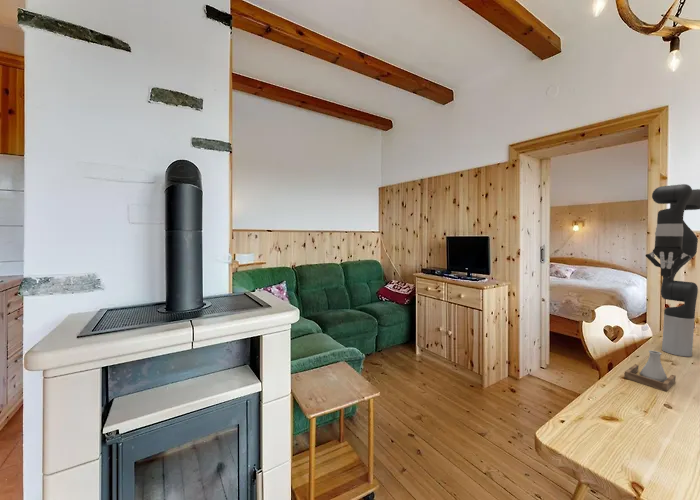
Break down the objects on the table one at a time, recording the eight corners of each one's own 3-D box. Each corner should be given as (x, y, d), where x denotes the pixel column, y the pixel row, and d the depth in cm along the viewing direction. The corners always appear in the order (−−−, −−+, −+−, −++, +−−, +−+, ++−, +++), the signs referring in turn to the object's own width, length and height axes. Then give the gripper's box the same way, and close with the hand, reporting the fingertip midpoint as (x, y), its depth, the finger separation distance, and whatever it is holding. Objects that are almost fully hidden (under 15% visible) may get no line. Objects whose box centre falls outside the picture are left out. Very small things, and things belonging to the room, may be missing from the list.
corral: (634, 370, 116) (635, 364, 116) (675, 382, 107) (675, 375, 107) (624, 378, 110) (624, 371, 110) (666, 391, 101) (666, 384, 101)
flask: (652, 372, 114) (654, 348, 114) (673, 382, 107) (675, 355, 106) (634, 373, 114) (636, 348, 113) (654, 382, 107) (656, 356, 106)
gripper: (696, 235, 113) (693, 279, 114) (648, 235, 124) (646, 275, 125) (691, 235, 109) (688, 280, 110) (643, 235, 120) (640, 276, 121)
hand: (666, 277), depth 118 cm, fingers closed
